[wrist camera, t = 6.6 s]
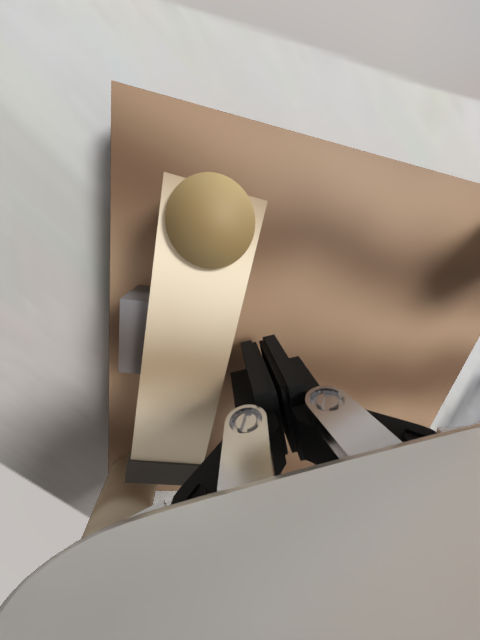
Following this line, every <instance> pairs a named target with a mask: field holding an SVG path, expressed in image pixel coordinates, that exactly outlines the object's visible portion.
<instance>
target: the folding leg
mask: <svg viewBox="0 0 480 640" xmlns="http://www.w3.org/2000/svg"><path fill="white" fill-rule="evenodd" d="M267 202H268V201H266V200H262V199H259V198H255V197H252V196H248V195H247V193H246V192H245V191H244V189H243V188H242V187H241V186H240V185H239V184H238V183H237V182H235V181H234V180H233V179H231V178H229V177H227V176H225V175H222V174H219V173H214V172H202V173H197V174H194V175H192V176H189V177H188V178H184V177H181V176H177V175H174V174H170V173H166V172H164V175H163V183H162V192H161V201H160V209H159V218H158V227H157V235H156V244H155V253H154V261H153V270H152V279H151V287H150V296H149V305H148V313H147V322H146V330H145V339H144V348H143V356H142V365H141V374H140V382H139V391H138V400H137V408H136V417H135V426H134V434H133V443H132V450H131V452H130V455H129V458H128V461H127V468H126V477H125V483H140V484H161V485H183V484H184V483H185V482H186V480H187V479H188V478H189V477H190V476H191V475H192V474H193V472H194V471H195V470H196V469H197V468H198V467H199V466H200V465H201V463H202V462H203V461H204V460H205V459H206V451H207V447H208V443H209V439H210V435H211V431H212V427H213V423H214V419H215V415H216V411H217V406H218V402H219V398H220V394H221V390H222V386H223V382H224V378H225V374H226V370H227V365H228V361H229V357H230V353H231V349H232V345H233V341H234V337H235V333H236V329H237V325H238V320H239V316H240V312H241V308H242V304H243V300H244V296H245V292H246V288H247V284H248V279H249V275H250V271H251V267H252V263H253V259H254V255H255V251H256V247H257V243H258V239H259V234H260V230H261V226H262V222H263V218H264V214H265V210H266V206H267Z"/></svg>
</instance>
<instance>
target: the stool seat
mask: <svg viewBox="0 0 480 640" xmlns="http://www.w3.org/2000/svg"><path fill="white" fill-rule="evenodd" d="M164 172H166V173H170V174H174V175H177V176H181V177H184V178H188V177H189V176H192V175H194V174H197V173H202V172H214V173H219V174H222V175H225V176H227V177H229V178H231V179H233V180H234V181H235V182H237V183H238V184H239V185H240V186H241V187H242V188H243V189H244V191H245V192H246V193H247V195H248V196H252V197H255V198H259V199H262V200H266V201H268V202H267V206H266V210H265V214H264V218H263V222H262V226H261V230H260V234H259V239H258V243H257V247H256V251H255V255H254V259H253V263H252V267H251V271H250V275H249V279H248V284H247V288H246V292H245V296H244V300H243V304H242V308H241V312H240V316H239V320H238V325H237V329H236V333H235V337H234V341H233V345H232V349H231V353H230V357H229V361H228V365H227V370H226V374H225V378H224V382H223V386H222V390H221V394H220V398H219V402H218V406H217V411H216V415H215V419H214V423H213V427H212V431H211V435H210V439H209V443H208V447H207V451H206V458H207V457H208V455H209V454H210V453H211V452H212V451H213V450H214V449H215V447H216V446H217V445H218V444H219V443H220V442H221V441H222V439H223V433H224V425H225V420H226V417H227V416H228V414H229V413H230V412H231V411H232V410H234V409H235V403H234V396H233V389H232V382H231V375H230V373H231V372H235V371H239V370H243V369H246V367H245V362H244V358H243V354H242V350H241V345H240V342H244V341H249V340H251V341H252V343H253V342H256V343H257V345H258V348H259V350H260V353H261V348H260V343H259V341H261V340H263V337H265V336H269V335H273V334H274V335H275V336H276V338H277V340H278V341H279V343H280V344H281V346H282V348H283V349H284V351H285V353H286V354H287V356H288V357H289V358H292V357H296V356H299V357H300V359H301V360H302V361H303V363H304V364H305V366H306V367H307V368H308V370H309V371H310V373H311V374H312V376H313V377H314V378H315V380H316V381H317V383H318V384H319V385H320V386H323V385H329V386H335V387H337V388H340V389H342V390H343V391H345V392H346V393H347V394H348V395H349V396H350V397H352V398H353V399H354V400H355V401H356V402H357V403H358V404H360V405H361V406H362V407H363V408H364V409H366V410H369V411H373V412H377V413H380V414H384V415H387V416H391V417H394V418H398V419H401V420H405V421H408V422H412V423H415V424H419V425H422V426H425V427H427V428H430V426H431V424H432V422H433V420H434V418H435V417H436V415H437V413H438V411H439V409H440V407H441V406H442V404H443V402H444V400H445V398H446V397H447V395H448V393H449V391H450V389H451V387H452V386H453V384H454V382H455V380H456V378H457V376H458V375H459V373H460V371H461V369H462V367H463V366H464V364H465V362H466V360H467V358H468V356H469V355H470V353H471V351H472V349H473V347H474V345H475V344H476V342H477V340H478V338H479V336H480V184H479V183H475V182H472V181H468V180H465V179H461V178H457V177H454V176H450V175H447V174H443V173H440V172H436V171H433V170H429V169H425V168H422V167H418V166H415V165H411V164H408V163H404V162H400V161H397V160H393V159H390V158H386V157H383V156H379V155H376V154H372V153H368V152H365V151H361V150H358V149H354V148H351V147H347V146H343V145H340V144H336V143H333V142H329V141H326V140H322V139H319V138H315V137H311V136H308V135H304V134H301V133H297V132H294V131H290V130H286V129H283V128H279V127H276V126H272V125H269V124H265V123H262V122H258V121H254V120H251V119H247V118H244V117H240V116H237V115H233V114H229V113H226V112H222V111H219V110H215V109H212V108H208V107H204V106H201V105H197V104H194V103H190V102H187V101H183V100H180V99H176V98H172V97H169V96H165V95H162V94H158V93H155V92H151V91H147V90H144V89H140V88H137V87H133V86H130V85H126V84H123V83H119V82H115V81H111V203H110V326H109V448H108V476H107V479H106V481H105V483H104V486H103V488H102V490H101V493H100V495H99V498H98V500H97V502H96V505H95V507H94V510H93V512H92V514H91V517H90V519H89V522H88V524H87V526H86V529H85V531H84V534H83V536H82V538H84V537H86V536H88V535H90V534H92V533H94V532H96V531H98V530H100V529H102V528H104V527H107V526H109V525H111V524H114V523H116V522H119V521H121V520H124V519H127V518H129V517H131V516H133V515H135V514H137V513H139V512H141V511H143V510H145V509H147V508H149V507H151V506H152V505H153V500H154V496H155V491H178V490H179V488H180V487H181V486H182V485H161V484H140V483H125V477H126V468H127V461H128V458H129V455H130V452H131V450H132V443H133V434H134V426H135V417H136V408H137V400H138V391H139V382H140V374H141V365H142V356H143V348H144V339H145V330H146V322H147V313H148V305H149V296H150V287H151V279H152V270H153V261H154V253H155V244H156V235H157V227H158V218H159V209H160V201H161V192H162V183H163V175H164ZM261 355H262V353H261ZM284 434H285V433H284ZM285 439H286V444H287V450H288V454H287V455H285V457H286V463H287V464H286V465H285V467H284V469H283V471H282V472H281V474H284V473H288V472H292V471H296V470H299V469H303V468H307V467H311V466H314V463H312V462H309V461H307V460H303V461H300V458H299V456H298V453H297V452H295V453H292V451H291V449H290V446H289V443H288V441H287V438H286V435H285ZM281 474H280V475H281ZM82 538H81V539H82Z"/></svg>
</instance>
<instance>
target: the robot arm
mask: <svg viewBox="0 0 480 640" xmlns="http://www.w3.org/2000/svg"><path fill="white" fill-rule="evenodd" d="M259 343H260V348H261V353H262V355H261V353H260V350H259V348H258V345H257V343H256V342H253V343H252V341H251V340H249V341H244V342H240V345H241V350H242V354H243V358H244V362H245V367H246V369H243V370H239V371H235V372H231V373H230V375H231V382H232V389H233V396H234V403H235V409H234V410H232V411H231V412H230V413H229V414H228V416H227V417H226V420H225V425H224V433H223V439H222V441H221V442H220V443H219V444H218V445H217V446H216V447H215V449H214V450H213V451H212V452H211V453H210V454H209V455H208V457H207V458H206V459H205V460H204V461H203V462H202V463H201V465H200V466H199V467H198V468H197V469H196V470H195V471H194V472H193V474H192V475H191V476H190V477H189V478H188V479H187V480H186V482H185V483H184V484H183V485H182V486H181V487H180V488H179V490H178V491H177V493H176V494H175V495H174V497H173V500H172V501H170V502H168V503H165V501H164V500H163V501H161V502H159V503H157V504H155V505H153V506H151V507H149V508H147V509H145V510H143V511H141V512H139V513H137V514H135V515H133V516H131V517H129V518H127V519H124V520H121V521H119V522H116V523H114V524H111V525H109V526H107V527H104V528H102V529H100V530H98V531H96V532H94V533H92V534H90V535H88V536H86V537H84V538H82V539H80V540H79V541H77V542H75V543H73V544H72V545H70V546H69V547H67V548H66V549H64V550H63V551H61V552H60V553H58V554H57V555H55V556H53V557H52V558H50V559H49V560H48V561H46V562H45V563H44V564H43V565H41V566H40V567H39V568H37V569H36V570H35V571H34V572H33V573H32V574H30V575H29V576H28V577H27V578H25V580H23V581H22V582H21V584H19V585H18V587H17V588H16V589H15V590H14V591H13V592H12V593H11V594H10V595H9V596H8V598H7V599H6V600H5V601H4V602H3V604H2V605H1V606H0V640H480V423H478V424H474V425H470V426H456V427H437V432H435V431H433V430H432V429H430V428H427V427H425V426H422V425H419V424H415V423H412V422H408V421H405V420H401V419H398V418H394V417H391V416H387V415H384V414H380V413H377V412H373V411H369V410H366V409H364V408H363V407H362V406H361V405H360V404H358V403H357V402H356V401H355V400H354V399H353V398H352V397H350V396H349V395H348V394H347V393H346V392H345V391H343V390H342V389H340V388H337V387H335V386H329V385H323V386H320V385H319V384H318V383H317V381H316V380H315V378H314V377H313V376H312V374H311V373H310V371H309V370H308V368H307V367H306V366H305V364H304V363H303V361H302V360H301V359H300V357H299V356H296V357H292V358H289V357H288V356H287V354H286V353H285V351H284V349H283V348H282V346H281V344H280V343H279V341H278V340H277V338H276V336H275V335H274V334H273V335H269V336H265V337H263V340H261V341H259ZM284 433H285V434H284ZM285 435H286V438H287V441H288V443H289V446H290V449H291V451H292V453H295V452H297V453H298V456H299V458H300V461H303V460H307V461H309V462H312V463H314V466H311V467H307V468H303V469H299V470H296V471H292V472H288V473H284V474H281V472H282V471H283V469H284V467H285V465H286V464H287V463H286V457H285V455H287V454H288V450H287V444H286V439H285ZM280 474H281V475H280Z"/></svg>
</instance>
